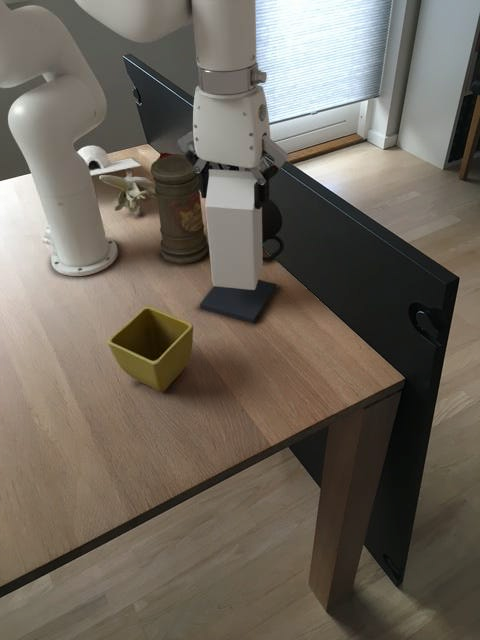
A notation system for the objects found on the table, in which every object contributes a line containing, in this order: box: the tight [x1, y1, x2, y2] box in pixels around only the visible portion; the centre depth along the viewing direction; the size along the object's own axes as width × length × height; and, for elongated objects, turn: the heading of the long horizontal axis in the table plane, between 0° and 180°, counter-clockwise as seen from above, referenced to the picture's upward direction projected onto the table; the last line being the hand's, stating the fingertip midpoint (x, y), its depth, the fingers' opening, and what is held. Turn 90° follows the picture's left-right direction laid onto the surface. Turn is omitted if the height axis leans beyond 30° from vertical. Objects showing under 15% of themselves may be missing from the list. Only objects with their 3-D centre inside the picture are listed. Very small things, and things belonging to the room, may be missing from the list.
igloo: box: [77, 145, 142, 177], centre depth 124 cm, size 20×20×5 cm
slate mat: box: [199, 279, 278, 324], centre depth 93 cm, size 10×10×1 cm
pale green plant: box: [98, 168, 156, 217], centre depth 117 cm, size 9×16×15 cm
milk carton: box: [204, 168, 263, 290], centre depth 84 cm, size 7×7×19 cm
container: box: [150, 154, 209, 265], centre depth 99 cm, size 9×9×18 cm
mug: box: [262, 198, 285, 262], centre depth 102 cm, size 8×12×10 cm
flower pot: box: [106, 305, 194, 393], centre depth 78 cm, size 9×9×9 cm
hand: (234, 198), depth 80 cm, fingers closed on milk carton, 8 cm apart
